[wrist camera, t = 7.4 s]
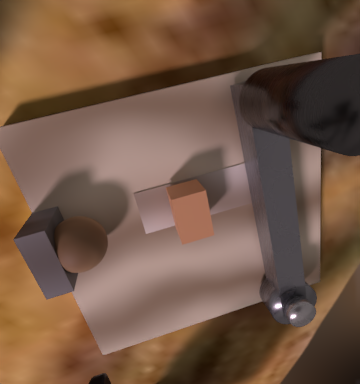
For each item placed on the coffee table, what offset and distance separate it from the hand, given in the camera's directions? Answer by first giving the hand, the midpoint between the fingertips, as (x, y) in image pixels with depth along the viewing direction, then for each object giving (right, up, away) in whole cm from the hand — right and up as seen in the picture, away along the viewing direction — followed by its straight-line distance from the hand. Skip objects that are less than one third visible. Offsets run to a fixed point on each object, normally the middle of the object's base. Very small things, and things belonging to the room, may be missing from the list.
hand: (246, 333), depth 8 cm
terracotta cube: (-2, +4, +8) cm, 9 cm away
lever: (+4, +3, +10) cm, 11 cm away
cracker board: (-1, +3, +11) cm, 12 cm away
